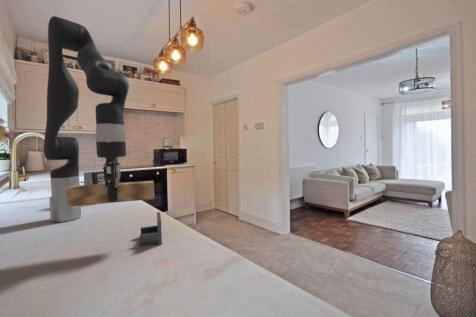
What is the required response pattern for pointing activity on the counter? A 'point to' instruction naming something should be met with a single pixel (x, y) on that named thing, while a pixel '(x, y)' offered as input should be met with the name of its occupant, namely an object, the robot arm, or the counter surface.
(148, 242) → the cup bracket
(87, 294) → the counter surface
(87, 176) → the coffee box
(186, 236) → the counter surface
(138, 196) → the rail
